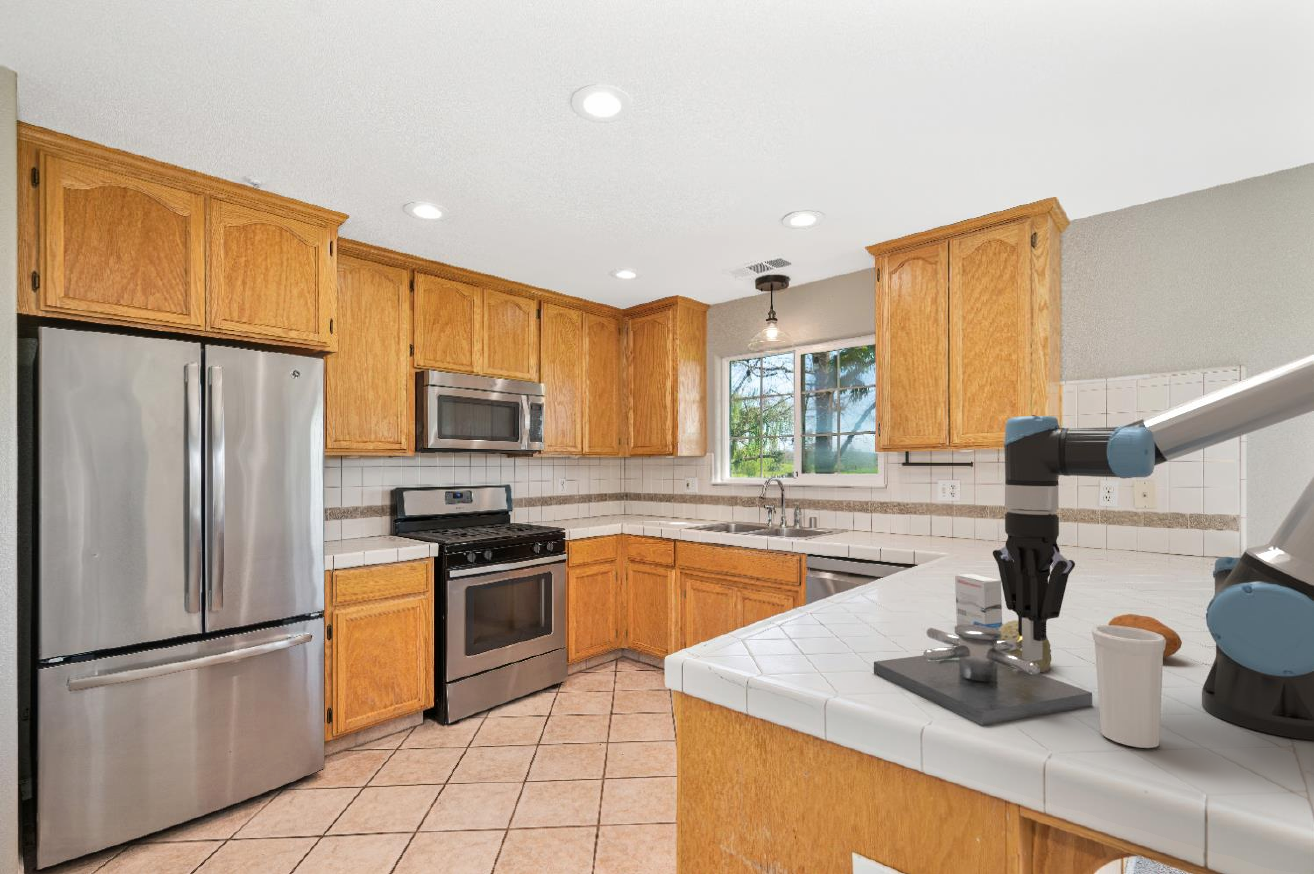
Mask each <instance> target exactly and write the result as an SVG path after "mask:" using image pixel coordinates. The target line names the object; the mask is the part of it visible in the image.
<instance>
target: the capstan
mask: <svg viewBox="0 0 1314 874" xmlns="http://www.w3.org/2000/svg"><path fill="white" fill-rule="evenodd" d="M926 635H927V637H928V638H930V639H932V640H935V641H937V642H941V643H943V644H946V645H949V646H945V647H936V648H931V649H930V648H929V649H925V650H924V651H923V653H922V655H923V656H924V658H925V659H926V660H927V661H938V660H945V659H953V658H959V674H960V675H962V676H963V677H966V678H969V679H972V680H978V681H995V680H997V679H998V668H997V662H998V663H1001V664H1004V665H1007V666H1009V667H1012V668H1015V669H1018V670H1020V671H1023V672H1026V673H1029V674H1031V675H1037V674H1040V673H1039V672H1040V667H1039V665H1038V664H1036V663H1034V662H1031V661H1028V660H1025V659H1022V658H1020V657H1017V656H1014V655H1011V654H1008V653H1005V652H1006V651H1014V650H1020V651H1022V636H1020V635H1019V636H1017V637H1016V639H1009V640H1001V641H997V640H1000V639H1001V631H999V630H997V629H994V628H991V627H986V626H980V625H958V626H957V625H956V626H954V634H951V633H949V632H945V631H942V630H941V629H937V628H934V627H928V628H927V630H926Z"/></svg>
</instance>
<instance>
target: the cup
mask: <svg viewBox="0 0 1314 874" xmlns="http://www.w3.org/2000/svg"><path fill="white" fill-rule="evenodd" d="M1091 634H1092V639H1093V641H1094V653H1095V665H1096V666H1095V667H1096V678H1097V679H1096V681H1097V695H1098V707H1099V708H1098V710H1099V720H1100V721H1099V722H1100V732H1101V734H1102V735H1103V736H1104V737H1106V738H1107V739H1109V740H1111V741H1113V742H1116V743H1119V744H1122V745H1126V746H1130V747H1135V748H1143V749H1144V748H1145V749H1150V748H1157V747H1158V746H1159V745H1160V733H1161V732H1160V731H1161V708H1162V690H1163V689H1162V686H1163V684H1162V683H1163V668H1164V667H1163V666H1164V664H1163V663H1164V658H1163V652H1164V650H1165V646H1166V640H1165V638H1164V637H1163V636H1162V635H1160V634H1157V633H1155V632H1151V631H1147V630H1143V629H1138V628H1132V627H1125V626H1113V625H1109V624H1105V625H1104V624H1103V625H1096V626H1093V627H1092V628H1091Z"/></svg>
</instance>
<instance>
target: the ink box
mask: <svg viewBox="0 0 1314 874" xmlns="http://www.w3.org/2000/svg"><path fill="white" fill-rule="evenodd" d="M954 576H955V579H954V580H955V581H954V582H955V585H954V587H955V607H956V609H955V610H956V611H955V612H956V626H958V625H980V626H986V627H991V628H994V629H997V630H999V628H1000V627H1001V626H1002V624H1003V607H1002V603H1003V602H1002V601H1003V600H1002V582H1001V579H996V578H992V577H987V576H982V575H979V574H974V573H965V574H963V573H962V574H956V575H954Z"/></svg>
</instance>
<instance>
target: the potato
mask: <svg viewBox="0 0 1314 874" xmlns="http://www.w3.org/2000/svg"><path fill="white" fill-rule="evenodd" d="M1108 625H1113V626H1125V627H1132V628H1138V629H1143V630H1147V631H1151V632H1155V633H1157V634H1160V635H1162V636H1163V637H1164V638H1165V640H1166V646H1165V650H1164V652H1163V659H1166V658H1168V657H1171V656H1173V655H1174V654H1176V653H1177V652H1179V650H1180V649H1181V648H1182V643H1183V642H1182V639H1181V636H1179V634H1178V633H1177V631H1175V630H1174V629H1172V628H1170V627H1168V626H1167V625H1165V624H1164V623H1162V622H1161V621H1159V620H1158V619H1156V618H1154V617H1151V616H1146V615H1139V614H1133V613H1130V614H1129V613H1128V614H1122V615H1118V616H1115V617H1112V618H1111V620H1110V621H1109V622H1108Z"/></svg>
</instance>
